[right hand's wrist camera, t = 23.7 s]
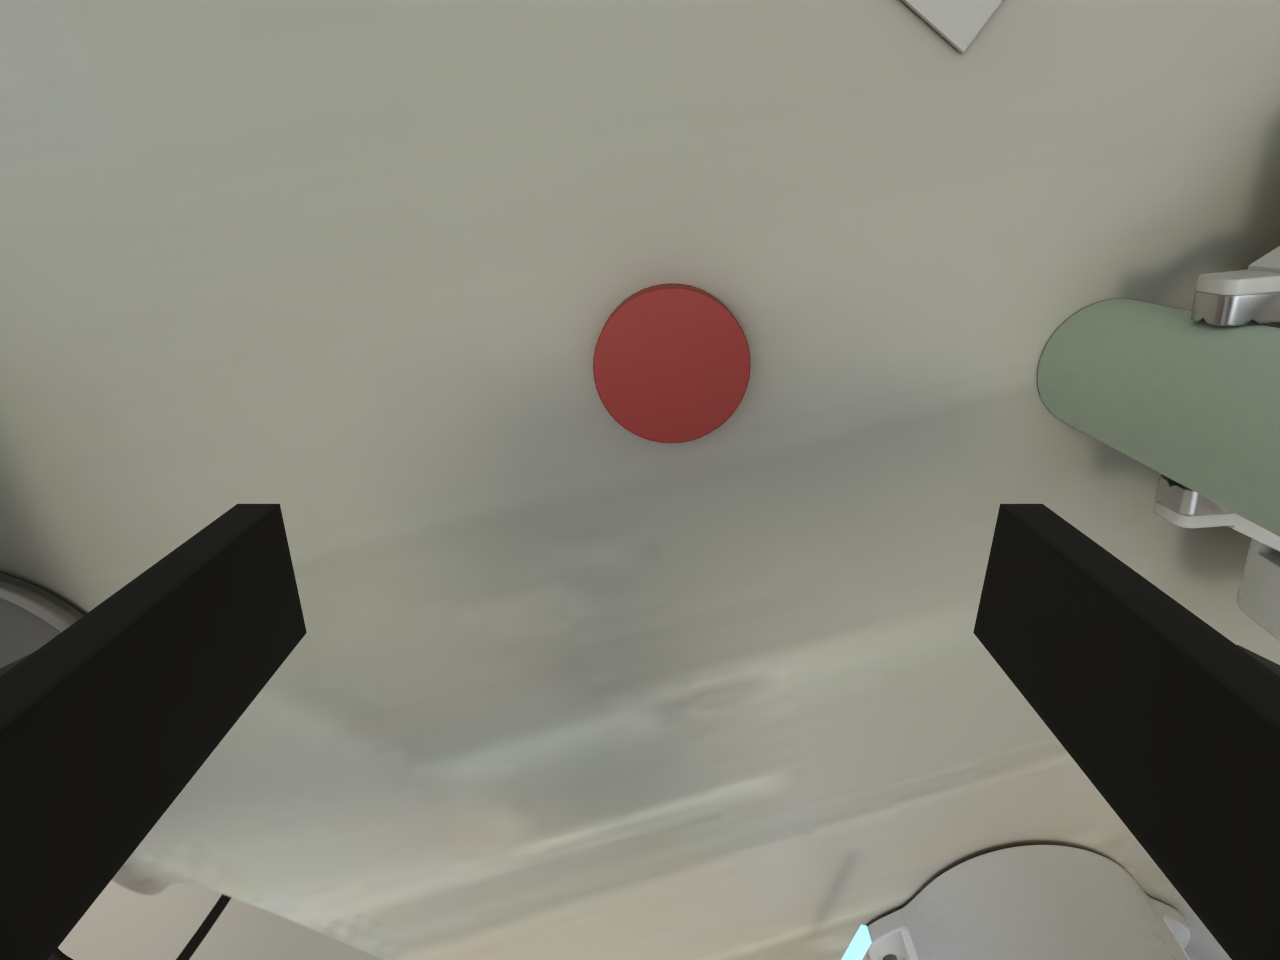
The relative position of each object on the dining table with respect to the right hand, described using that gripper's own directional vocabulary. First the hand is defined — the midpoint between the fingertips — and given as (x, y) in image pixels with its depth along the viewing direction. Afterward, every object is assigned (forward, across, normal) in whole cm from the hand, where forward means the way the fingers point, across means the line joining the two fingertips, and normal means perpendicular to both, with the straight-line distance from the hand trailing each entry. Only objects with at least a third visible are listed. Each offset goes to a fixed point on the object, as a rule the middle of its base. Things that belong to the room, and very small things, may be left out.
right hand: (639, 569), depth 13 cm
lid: (+17, +1, 0) cm, 17 cm away
